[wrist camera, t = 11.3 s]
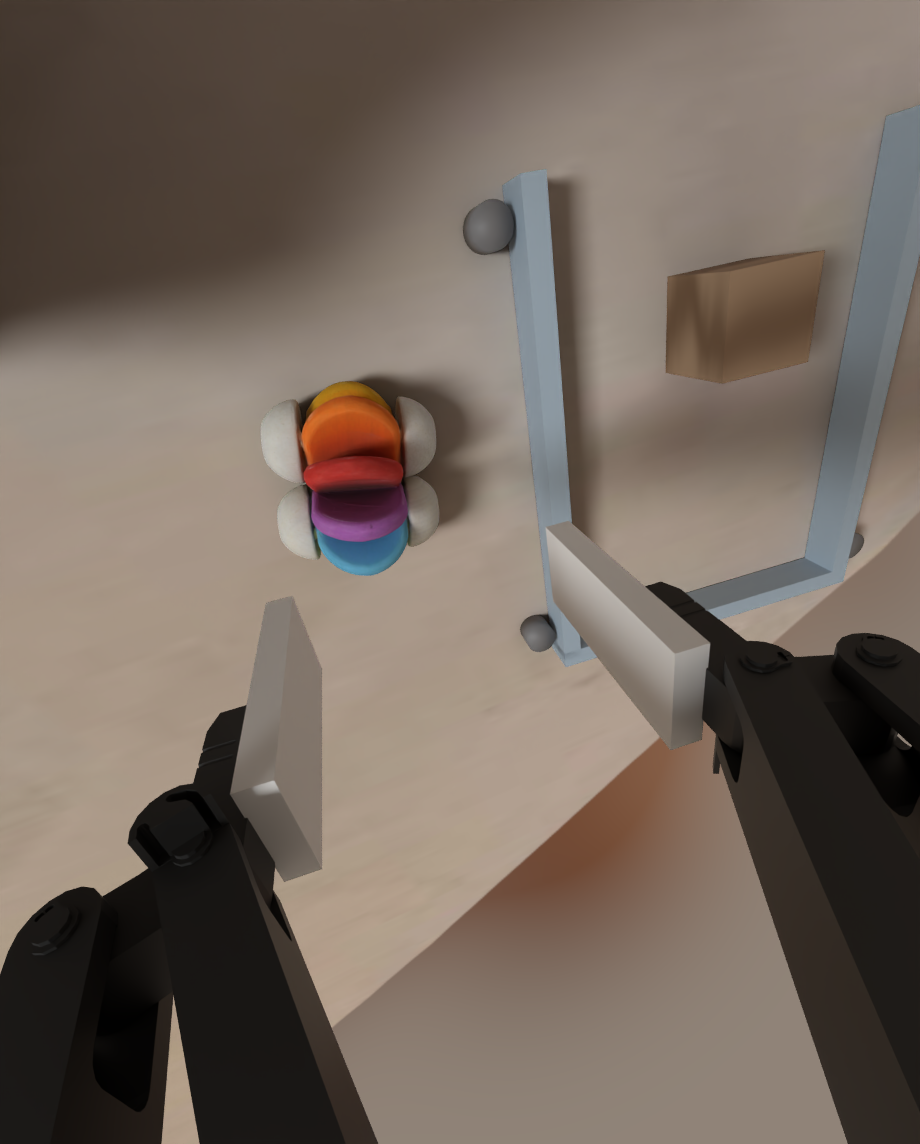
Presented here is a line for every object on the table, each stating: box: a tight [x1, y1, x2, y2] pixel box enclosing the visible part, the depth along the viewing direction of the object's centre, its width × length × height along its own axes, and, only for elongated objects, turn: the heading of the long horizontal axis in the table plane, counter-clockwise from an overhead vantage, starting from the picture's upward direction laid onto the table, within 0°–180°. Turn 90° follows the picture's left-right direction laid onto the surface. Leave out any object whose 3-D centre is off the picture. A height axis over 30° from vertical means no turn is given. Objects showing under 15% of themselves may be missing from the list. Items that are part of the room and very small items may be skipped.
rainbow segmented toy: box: [261, 381, 439, 576], centre depth 25 cm, size 8×10×7 cm
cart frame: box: [463, 105, 920, 667], centre depth 31 cm, size 28×27×2 cm
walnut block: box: [666, 250, 825, 384], centre depth 27 cm, size 5×5×5 cm
